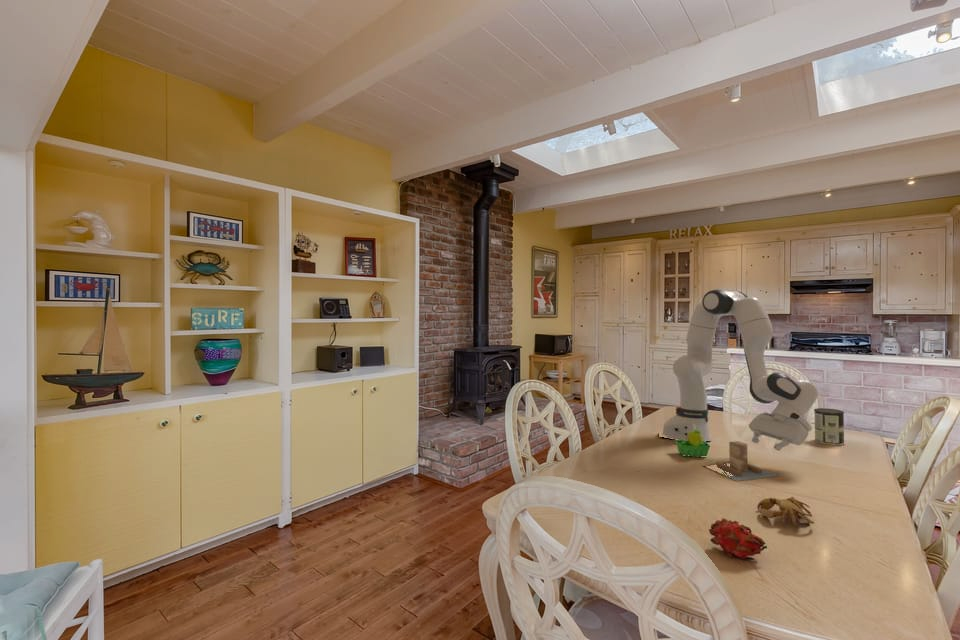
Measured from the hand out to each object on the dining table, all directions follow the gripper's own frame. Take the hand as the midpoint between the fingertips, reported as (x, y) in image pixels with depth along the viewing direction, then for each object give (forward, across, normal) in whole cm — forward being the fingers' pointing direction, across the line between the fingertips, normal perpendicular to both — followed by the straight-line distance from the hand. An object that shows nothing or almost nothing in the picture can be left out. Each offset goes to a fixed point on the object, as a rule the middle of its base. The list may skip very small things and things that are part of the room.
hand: (764, 445), depth 160 cm
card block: (+14, 0, -3) cm, 14 cm away
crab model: (+27, +34, -15) cm, 46 cm away
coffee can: (-32, -19, +45) cm, 58 cm away
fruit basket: (+17, -19, -5) cm, 26 cm away
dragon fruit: (+46, +46, -34) cm, 73 cm away
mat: (+14, 0, -2) cm, 14 cm away
